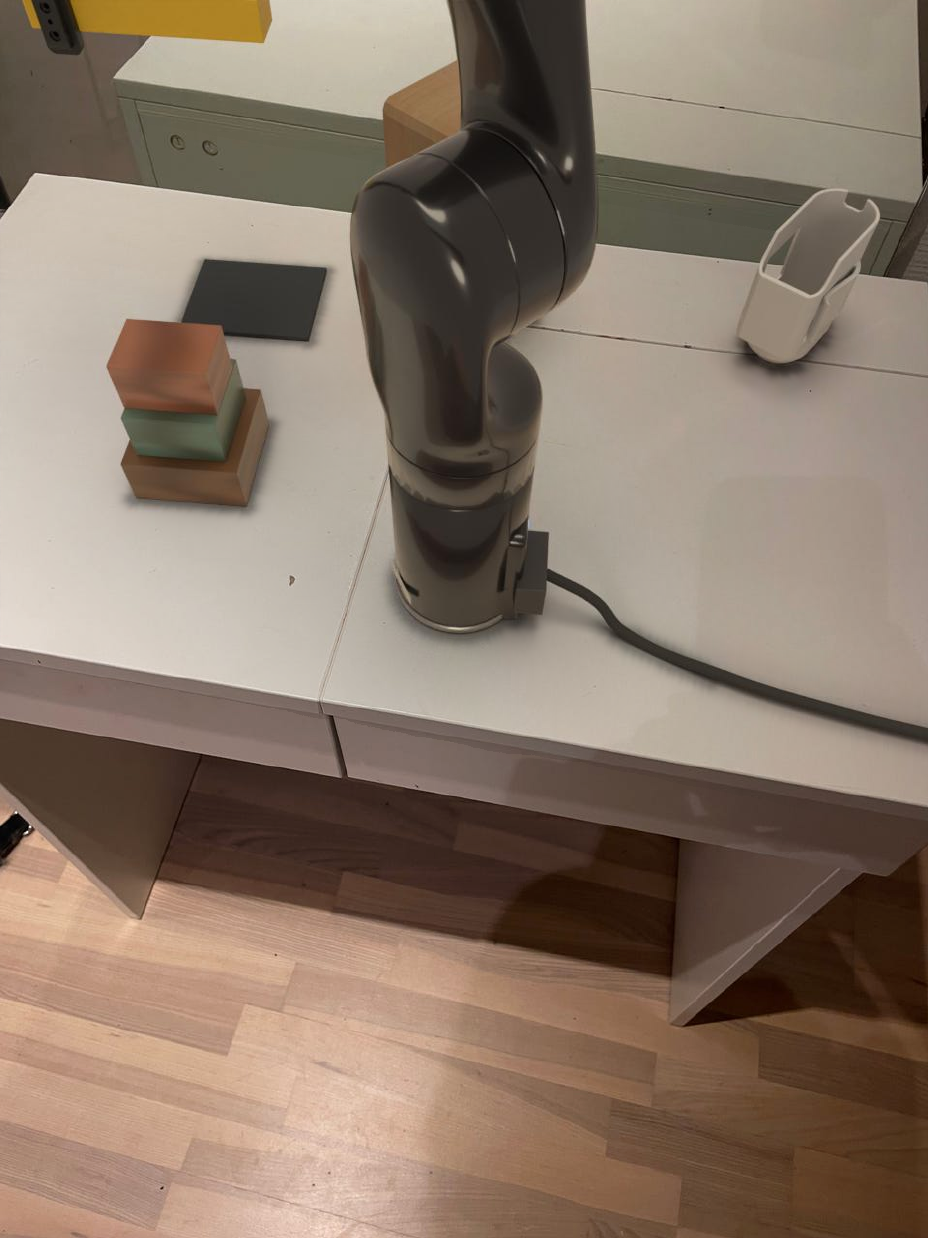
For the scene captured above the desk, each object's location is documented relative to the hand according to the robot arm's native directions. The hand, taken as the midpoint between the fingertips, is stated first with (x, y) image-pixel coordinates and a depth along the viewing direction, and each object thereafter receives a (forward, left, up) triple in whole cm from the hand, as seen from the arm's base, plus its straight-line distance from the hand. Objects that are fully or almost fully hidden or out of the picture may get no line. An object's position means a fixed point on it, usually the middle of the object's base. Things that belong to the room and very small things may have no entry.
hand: (76, 35), depth 58 cm
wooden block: (-26, -6, -26) cm, 37 cm away
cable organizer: (-55, -5, -26) cm, 61 cm away
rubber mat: (-6, -6, -26) cm, 27 cm away
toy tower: (-6, +14, -26) cm, 29 cm away
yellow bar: (-5, 0, +1) cm, 6 cm away
